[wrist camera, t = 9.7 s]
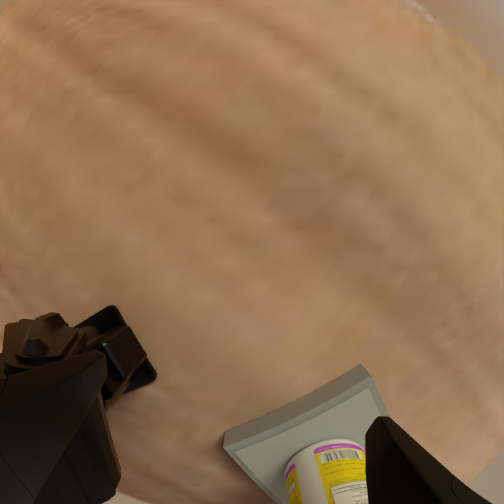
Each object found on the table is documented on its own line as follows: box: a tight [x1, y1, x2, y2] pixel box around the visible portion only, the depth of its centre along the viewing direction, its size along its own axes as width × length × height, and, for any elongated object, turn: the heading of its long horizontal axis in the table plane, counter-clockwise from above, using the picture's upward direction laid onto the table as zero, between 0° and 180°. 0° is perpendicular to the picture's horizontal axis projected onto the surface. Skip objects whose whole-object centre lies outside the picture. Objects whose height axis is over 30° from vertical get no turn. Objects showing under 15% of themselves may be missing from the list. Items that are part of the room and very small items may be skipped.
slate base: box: [223, 364, 389, 504], centre depth 19 cm, size 12×12×2 cm
